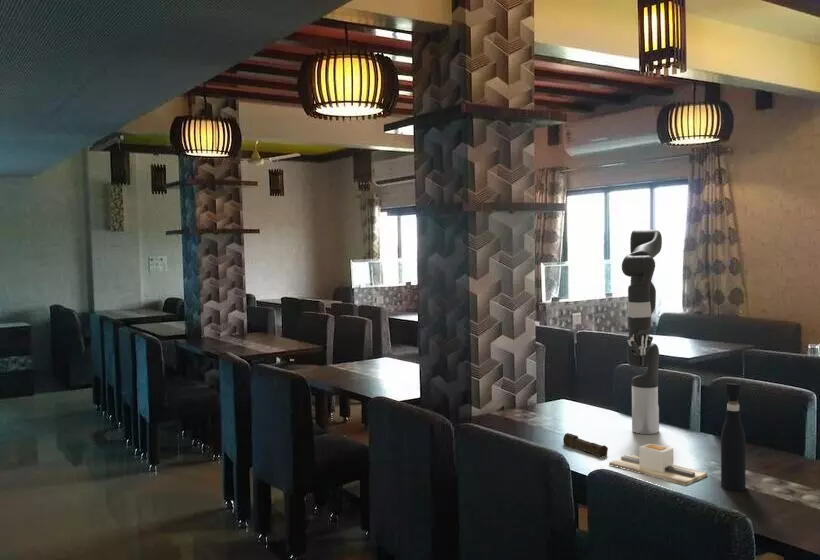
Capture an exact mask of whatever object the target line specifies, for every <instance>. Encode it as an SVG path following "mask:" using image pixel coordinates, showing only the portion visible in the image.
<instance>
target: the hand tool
mask: <svg viewBox="0 0 820 560" xmlns="http://www.w3.org/2000/svg"><path fill="white" fill-rule="evenodd" d="M562 442H563V444H565V445H564V446H566V447H568V448H570V447H571V448H570V449H578V450H580V451H581V450H582V451H584V452H588V453H591V454H593V455H595V456H596V455H597V456H598V457H599V458H600V457H601V458H603V457H602V456H605V457H607V455H608V450H609V449H608V446H606V445H600V444H598V443H596V442H590V441H587V440H584V439H581V438H579V436H578V435H575V434H573V433H568V432H566V433H564V436H563V441H562Z"/></svg>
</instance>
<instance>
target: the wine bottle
mask: <svg viewBox="0 0 820 560" xmlns="http://www.w3.org/2000/svg"><path fill="white" fill-rule="evenodd" d="M741 388H742V387H741V382H735V381H734V382H733V381H731V382H730V381H729V382H726V383H725V395H727V397H728V398H727V399H728V400H727V401H728V402H727V405H726V406H727V407H726V410H725V420H724V424H723V427H722V430H721V435H720V480H721V482H720V484H721V485H720V487H721V488H722V489H724V490H728V491H731V492H743V491H745V490H746V489H747V488H746V487H747V486H746V481H747V480H746V479H747V478H746V469H747V468H746V465H747V464H746V463H747V462H746V461H747V459H746V456H747V455H746V453H747V452H746V451H747V450H746V449H747V447H746V442H747V441H746V440H747V439H746V434H745V429H744V426H743V423H742V421H741V410H740V406H741V405H740V404H739V396H741V395H742V394H741V393H742V390H741Z"/></svg>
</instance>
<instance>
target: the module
mask: <svg viewBox="0 0 820 560" xmlns="http://www.w3.org/2000/svg"><path fill="white" fill-rule="evenodd" d="M638 448H639V449H638V451H639V452H638V455H639V467H643V468H647V469H651V470H654V471H658V472H662V473H663V472H665V468H666V467H668V466H671V467H674V465H675V463H674V447H669V446H664V445H660V444H655V443H647V444H643V445H641V446H639V447H638Z"/></svg>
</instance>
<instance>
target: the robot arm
mask: <svg viewBox="0 0 820 560" xmlns="http://www.w3.org/2000/svg"><path fill="white" fill-rule="evenodd" d="M629 238H630V240H629V241H630V242H629V243H630V244H629V245H630V249H629V250H630V253H628V254H626V256H625V257H624V258H623V260H622V262H621V270H622V273H623V274H624V275H625V276H626V277H628V278H629V277H630V285H628V288H627V329H629V330H628V338H627V340H626V345H627V350H626V358H627V363H628V366H630V367H632V368H643V369H646V372H645V373H642V374H640V375H636V376H634V377H632V378H631V430H632V433H633V432H634V433H635V432H636V433H635V434H639V433H640V435H655V434H658V433H659V431H660V406H659V392H658V391H659V363H660V362H659V361H660V350H659V349H660V348H659V346H658V345H657V343H655V342H653V339H654V337H653V336H650V335H649V334H650V333H649V330H651V329H652V315H653V313H654V311H655V310H656V305H657V304H656V303H657V302H656V301H657V300H656V299H657V290H656V287H655V285H654V283H653V282H652V279H653V276H654V272H655V269H656V261H655V259H654V258H655V257H656V256H657V255H659V254H660V252H661V249H662V246H663V244H662V243H663V242H662V241H663V240H662V239H663V237H662V233H661V232H660V230H657V229H634V230H632V232H631V233H630V237H629Z"/></svg>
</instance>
